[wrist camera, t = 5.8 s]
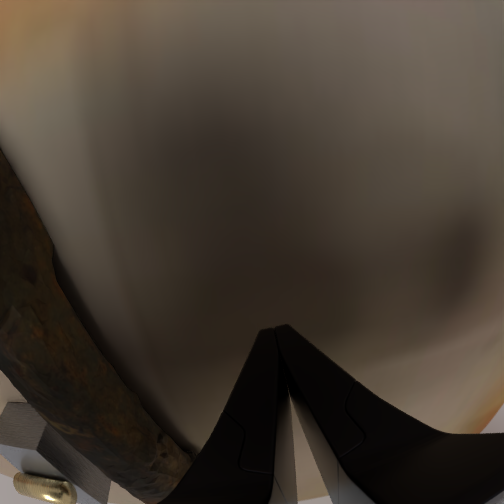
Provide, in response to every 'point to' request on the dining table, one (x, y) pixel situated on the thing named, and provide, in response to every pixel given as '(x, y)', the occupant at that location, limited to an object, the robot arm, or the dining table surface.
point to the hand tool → (72, 362)
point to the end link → (48, 460)
